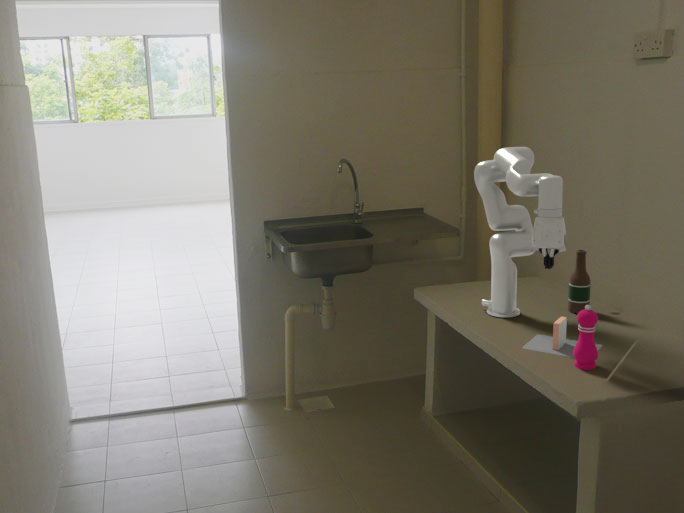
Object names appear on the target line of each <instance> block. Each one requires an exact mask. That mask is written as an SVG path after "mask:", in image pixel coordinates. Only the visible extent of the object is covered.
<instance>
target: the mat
mask: <svg viewBox="0 0 684 513" xmlns="http://www.w3.org/2000/svg"><path fill="white" fill-rule="evenodd" d="M577 342H578V340H575V339H569V338H566V343H565V344H564V345H563V346H562V347H561V348H560V349H559V350H553V336H551V335H545V334H539V333H538V334H536V335H535V336H534V337H532V339H530V340H529V341H528V342H526V344H524V345H523V346H522V347H521V349H524V350H529V351H534V352H540V353H545V354H550V355H556V356H561V357H562V356H563V357H566V358H573V359H575V358H574V356H573V350H574V347H575V345H576V344H577ZM595 345H596V347H597V350H598V351H600V350H601V348H602V347H603V346H604V345H603V344H598V343H595Z"/></svg>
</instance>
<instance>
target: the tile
mask: <svg viewBox="0 0 684 513" xmlns="http://www.w3.org/2000/svg"><path fill="white" fill-rule="evenodd" d="M567 320H568V317H567V316H560V317H558V318H557V319H556V321H554V322H553V324H552V326H553V328H552V337H553V350H559V349H560V348H561V347H562V346H563V345H564V344H565V343H566V339H567V322H568V321H567Z"/></svg>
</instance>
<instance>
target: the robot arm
mask: <svg viewBox="0 0 684 513" xmlns="http://www.w3.org/2000/svg"><path fill="white" fill-rule="evenodd" d="M534 164H535V154H534V152H533V150H532V149H531V148H529V147H528V146H509V147H503V148H499V149H498V150H496V152H495V153H494V155H493V159H489V160H484V161H480V162H479V163H477V164H476V165H475V167H474V170H473V174H474V175H473V179H474V184H475V187H476V189H477V191H478V193H479V195H480V197H481V199H482V202H483V207H484V212H485V216H486V220H487V221H486V222H487V224H488V226H489V228H490V229H491V230H492V231H497V232H498V231H499V232H498V233H495V234H493V235H492V236H491V237H490V238H489V243H488V245H489V252H490V261H491V280H490V281H491V282H490V284H491V286H490V299H489V300H487V299H481V306H483V307H488V308H486V314H487V315H489V316H492V317H495V318H506V319H508V318H515V317H517V316H519V315H520V314H521V310H520V309H519V308H518V307H517V290H518V288H517V285H518V268H517V266H516V264H515V262H514V261H513V260H512V258H515V257H516V258H517V257H527V256H531V255H533V254H534V253H535V252H536V251H538V252H539V253H540V254H541V256H542V257H543V266H544V269H548V270H551V269H552V268H553V267H554V266H555V256H556V255H557V254H558V253H564V252H566V251H567V247H566V244H567V232H566V231H567V229H566V223H565V217H563V187H564V186H563V184H564V179H563V177H561V176H560V175H553V174H552V173H549V172H548V173H547V172H544V173H531V172H532V167H533V166H534ZM502 182H504V183H505V182H506V186H507V188H508V190H509V191H511V193H513V194H514V195H516V196H517V197H522V198H527V197H538V200H537V201H538V204H537V205H538V207H537V208H536V209H534V210H533V214H536V215H537V216H536V217H535V219H534V223H533V222H532V220H531V219H532V218H531V215H530V213H529V210H528V209H527V208H526V206H524V205H522V204H521V205H520V204H508V203H507V199H506V195H505V193H504V192H503V191H502V189H501V188H500V187H499V186H498V185H496V184H495V183H502ZM532 223H533V224H532ZM500 231H501V232H500ZM503 231H504V232H503ZM549 250H550V252H549Z"/></svg>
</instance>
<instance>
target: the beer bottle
mask: <svg viewBox="0 0 684 513" xmlns="http://www.w3.org/2000/svg"><path fill="white" fill-rule="evenodd" d="M575 253H576V257H575V258H576V259H575V266H574V271H573V272H572V273H571V274H570V276H569V281H568V298H567V299H568V300H567V306H568V307H567V311H568V312H569V313H571V314H575V313H576V315H578V313H579V312H580V311H581V310H584V309H585V306H586V305H590V302H591V299H590V298H591V277H590V275H589V274H588V272H587V265H586V264H587V263H586V261H587V258H586V255H587V253H588V252H587V250H584V249H578V250H576V252H575ZM590 306H591V305H590Z"/></svg>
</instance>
